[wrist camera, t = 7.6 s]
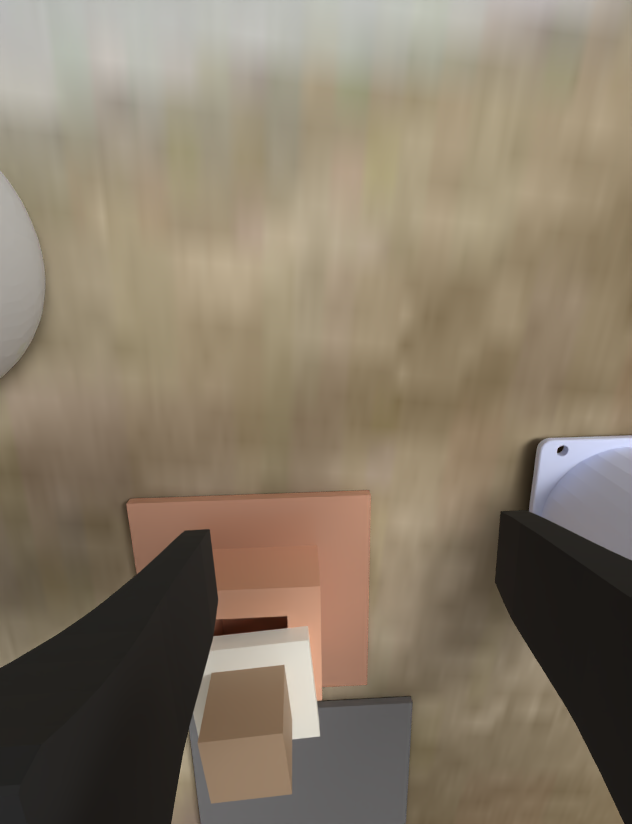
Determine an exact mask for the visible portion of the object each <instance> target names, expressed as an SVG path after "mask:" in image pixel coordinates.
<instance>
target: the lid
mask: <svg viewBox="0 0 632 824" xmlns="http://www.w3.org/2000/svg"><path fill="white" fill-rule="evenodd" d="M193 715H194V720H195V724H196V729H197V733H198V748H199V752H200V757H201V761H202V765H203V770H204V774H205V779H206V783H207V788H208V792H209V797H210V801H211V804H212V803H221V802H230V801H238V800H247V799H255V798H264V797H273V796H281V795H290V794H292V740H293V739H301V738H310V737H319V736H320V727H319V715H318V706H317V698H316V690H315V681H314V673H313V665H312V657H311V648H310V640H309V632H308V626H302V627H293V628H284V629H275V630H266V631H257V632H248V633H239V634H230V635H221V636H213V640H212V644H211V648H210V652H209V656H208V660H207V663H206V667H205V671H204V675H203V678H202V682H201V686H200V689H199V693H198V697H197V700H196V704H195V708H194V711H193Z"/></svg>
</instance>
